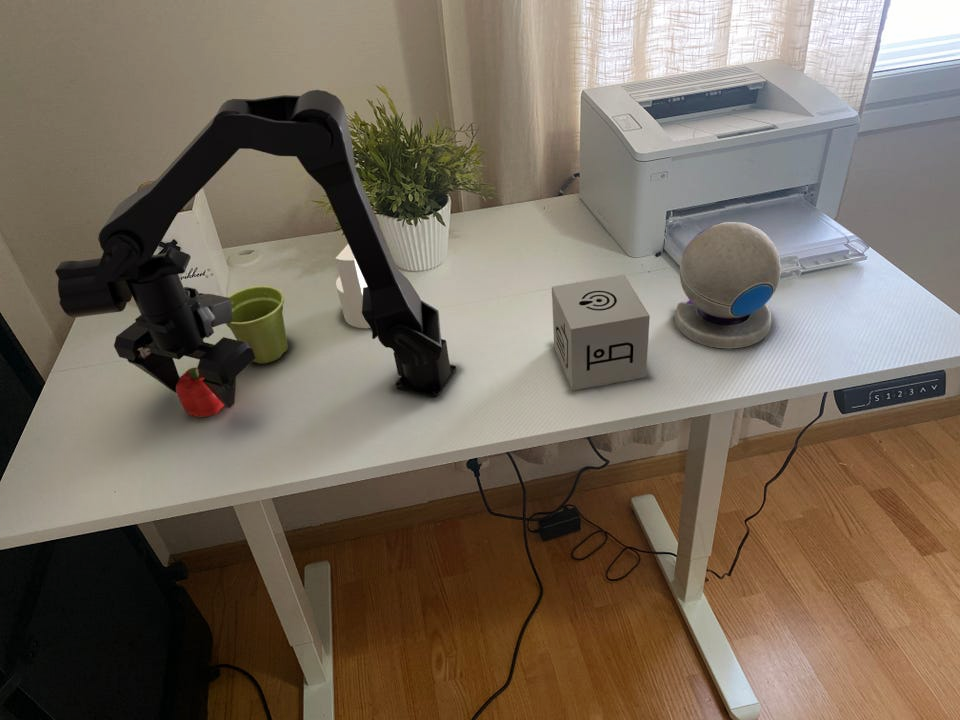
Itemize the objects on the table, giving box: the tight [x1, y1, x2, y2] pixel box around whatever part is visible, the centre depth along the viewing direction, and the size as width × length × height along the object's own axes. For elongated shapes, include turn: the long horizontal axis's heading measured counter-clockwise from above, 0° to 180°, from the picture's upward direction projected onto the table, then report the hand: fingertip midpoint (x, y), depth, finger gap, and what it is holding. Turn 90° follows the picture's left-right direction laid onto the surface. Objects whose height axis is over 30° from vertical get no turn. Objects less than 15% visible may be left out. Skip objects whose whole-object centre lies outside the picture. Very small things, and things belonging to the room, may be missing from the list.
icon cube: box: [551, 274, 651, 391], centre depth 98 cm, size 10×10×10 cm
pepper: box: [175, 366, 225, 418], centre depth 98 cm, size 6×6×7 cm
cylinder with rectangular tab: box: [334, 243, 371, 329], centre depth 112 cm, size 9×9×12 cm
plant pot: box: [224, 285, 289, 364], centre depth 107 cm, size 9×9×9 cm
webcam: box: [674, 221, 782, 349], centre depth 100 cm, size 13×13×15 cm
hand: (204, 398), depth 99 cm, fingers open, 9 cm apart
